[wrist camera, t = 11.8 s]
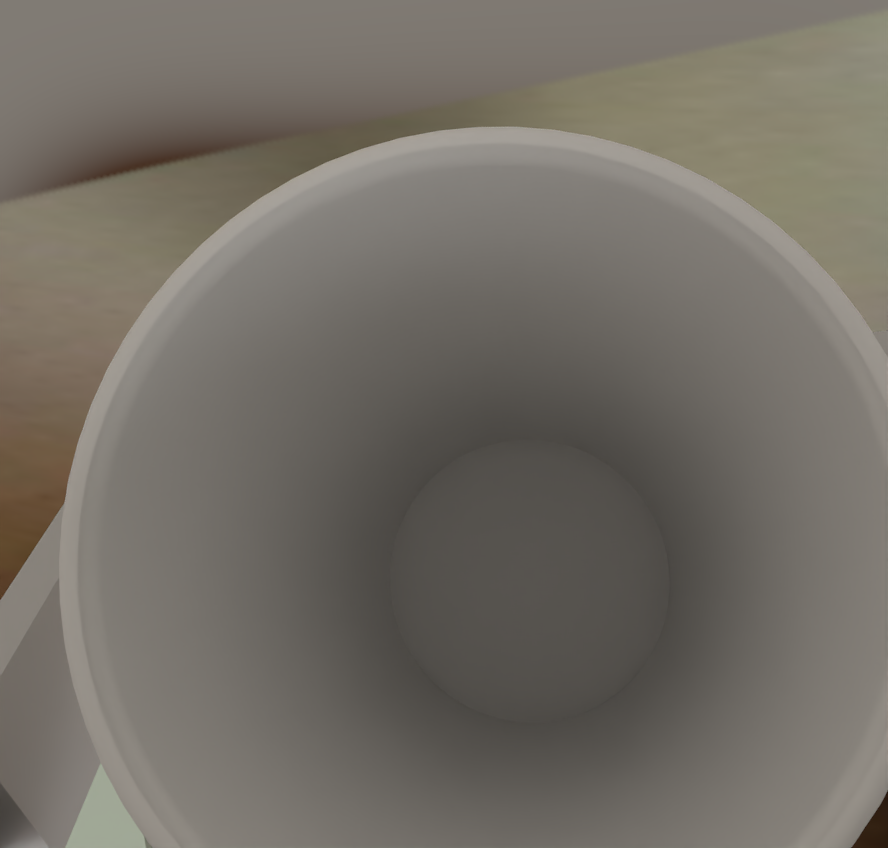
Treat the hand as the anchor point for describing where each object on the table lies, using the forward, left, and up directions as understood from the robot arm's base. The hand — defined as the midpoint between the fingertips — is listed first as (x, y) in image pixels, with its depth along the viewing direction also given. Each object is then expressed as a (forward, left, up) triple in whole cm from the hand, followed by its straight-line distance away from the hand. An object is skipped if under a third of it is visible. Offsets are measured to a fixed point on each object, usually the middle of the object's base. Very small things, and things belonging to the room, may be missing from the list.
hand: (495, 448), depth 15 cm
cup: (+1, +2, -9) cm, 9 cm away
